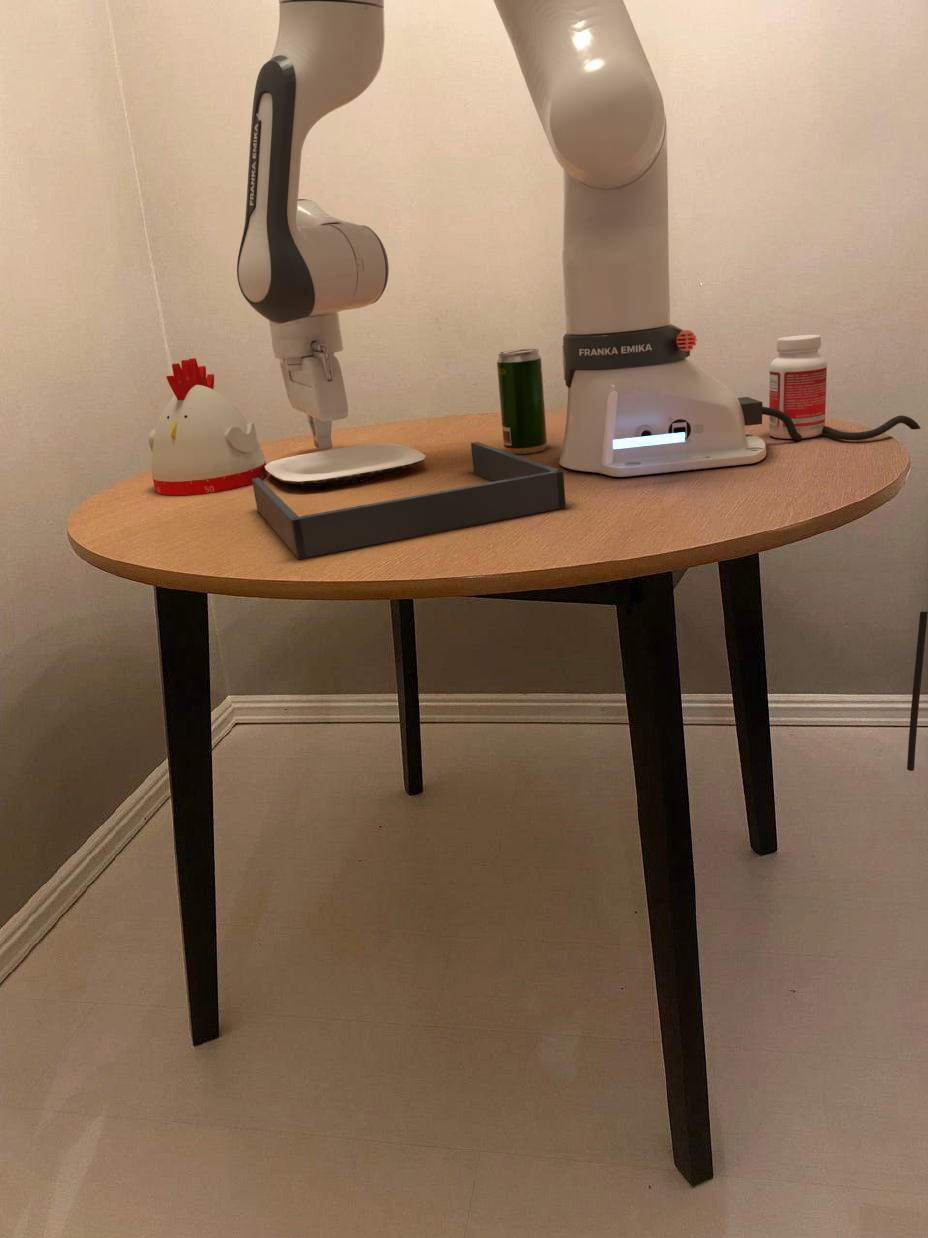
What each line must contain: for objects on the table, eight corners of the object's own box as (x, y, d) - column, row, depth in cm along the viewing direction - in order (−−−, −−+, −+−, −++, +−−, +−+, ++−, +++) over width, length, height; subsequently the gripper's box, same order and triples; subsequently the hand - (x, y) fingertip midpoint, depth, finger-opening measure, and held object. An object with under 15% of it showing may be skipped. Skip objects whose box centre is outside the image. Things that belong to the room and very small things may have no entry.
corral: (257, 511, 100) (251, 478, 99) (479, 472, 107) (477, 441, 106) (298, 559, 80) (291, 519, 79) (565, 507, 88) (563, 470, 87)
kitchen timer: (131, 495, 114) (103, 369, 109) (198, 470, 126) (175, 356, 121) (227, 494, 110) (203, 362, 104) (287, 468, 121) (268, 349, 116)
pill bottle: (835, 432, 109) (839, 333, 105) (803, 441, 106) (805, 340, 102) (790, 428, 114) (792, 333, 110) (757, 437, 110) (758, 340, 107)
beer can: (521, 456, 114) (513, 354, 110) (495, 451, 118) (487, 353, 114) (556, 448, 116) (549, 348, 112) (529, 444, 121) (522, 348, 117)
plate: (257, 474, 120) (255, 461, 119) (391, 451, 126) (389, 438, 125) (290, 498, 104) (288, 483, 103) (441, 471, 110) (439, 457, 109)
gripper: (351, 339, 112) (367, 455, 116) (314, 335, 130) (329, 435, 135) (299, 346, 110) (317, 463, 114) (269, 341, 128) (286, 442, 133)
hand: (323, 448), depth 125 cm, fingers closed
